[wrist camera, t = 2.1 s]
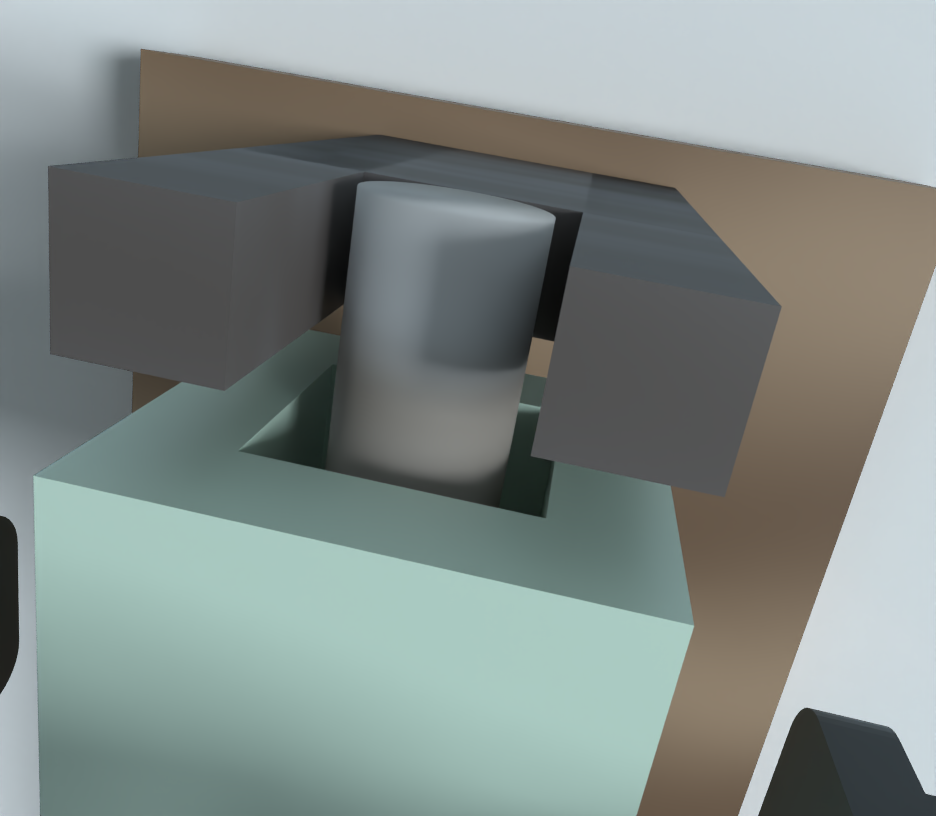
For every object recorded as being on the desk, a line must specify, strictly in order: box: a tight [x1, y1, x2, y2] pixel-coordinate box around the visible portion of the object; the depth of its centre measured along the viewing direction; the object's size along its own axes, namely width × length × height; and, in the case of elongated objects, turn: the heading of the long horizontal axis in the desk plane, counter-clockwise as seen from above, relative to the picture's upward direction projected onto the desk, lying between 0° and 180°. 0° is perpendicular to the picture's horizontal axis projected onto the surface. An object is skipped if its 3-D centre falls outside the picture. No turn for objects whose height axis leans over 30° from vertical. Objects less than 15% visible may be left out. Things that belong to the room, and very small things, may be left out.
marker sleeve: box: [33, 330, 694, 816], centre depth 8 cm, size 5×4×4 cm
